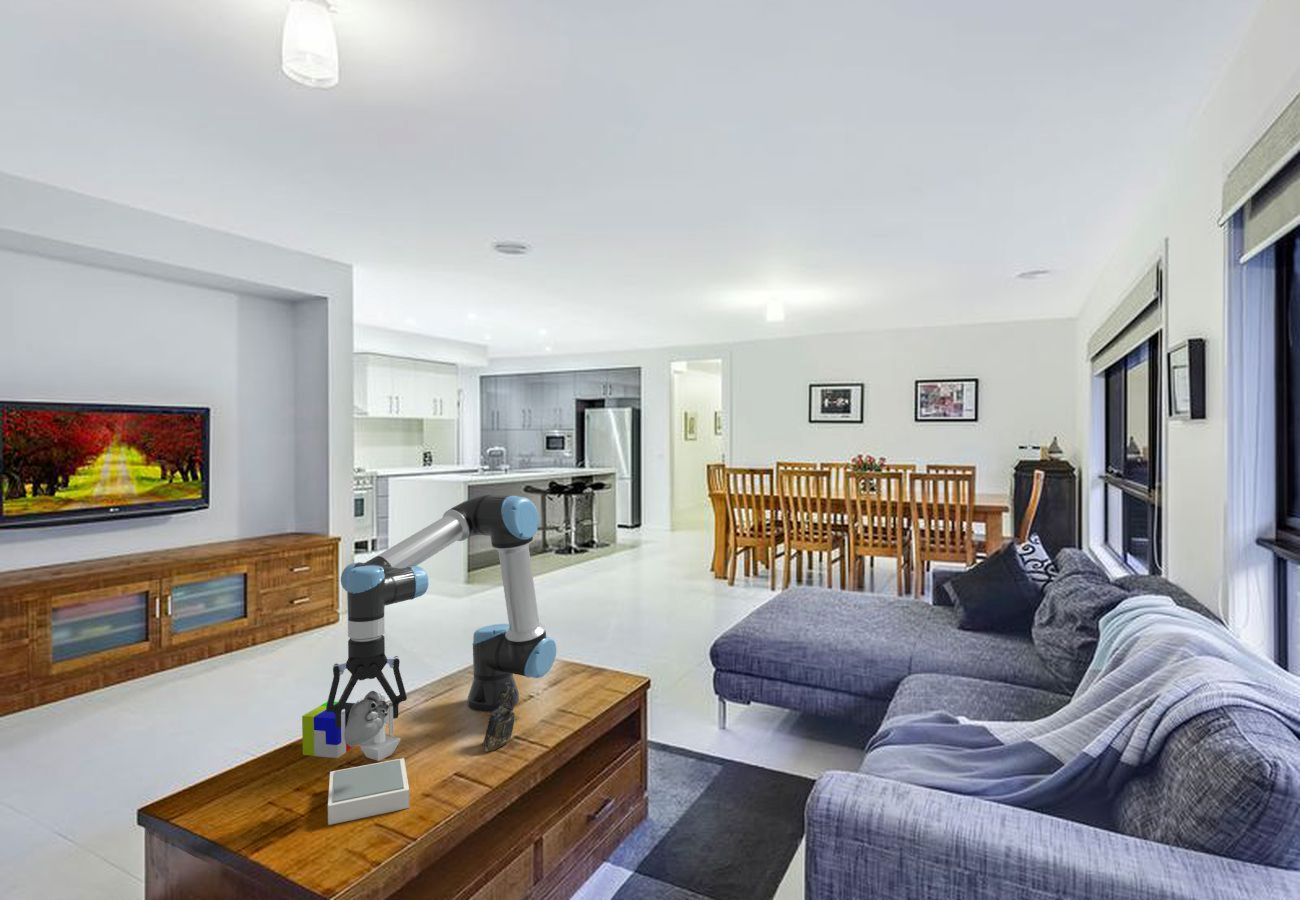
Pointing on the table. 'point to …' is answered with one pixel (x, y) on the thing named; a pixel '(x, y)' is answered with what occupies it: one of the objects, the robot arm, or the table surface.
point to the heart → (365, 719)
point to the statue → (501, 720)
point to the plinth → (367, 791)
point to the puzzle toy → (323, 732)
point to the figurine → (380, 742)
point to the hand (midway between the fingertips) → (367, 736)
